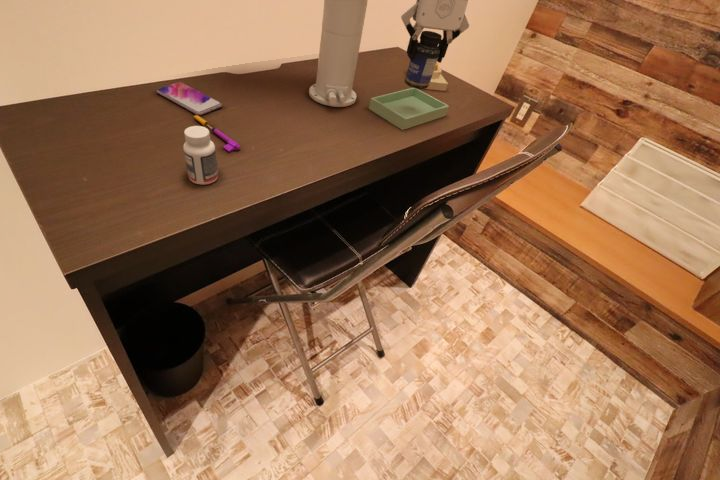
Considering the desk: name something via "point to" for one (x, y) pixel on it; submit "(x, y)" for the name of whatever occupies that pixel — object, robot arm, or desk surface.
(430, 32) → the pill bottle
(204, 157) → the pill bottle
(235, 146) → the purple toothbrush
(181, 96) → the smartphone
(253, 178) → the desk surface
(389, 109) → the tray
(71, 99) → the desk surface
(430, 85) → the box
